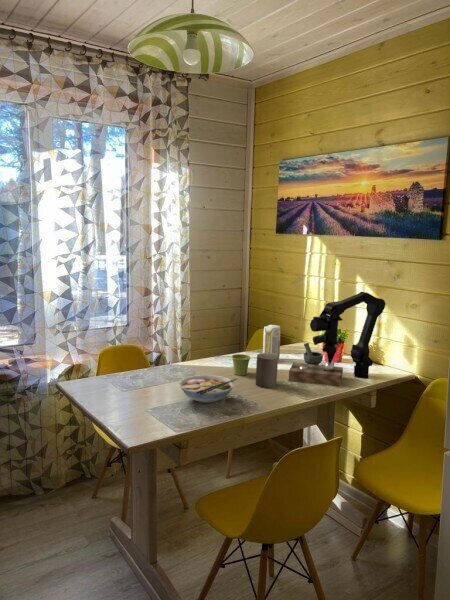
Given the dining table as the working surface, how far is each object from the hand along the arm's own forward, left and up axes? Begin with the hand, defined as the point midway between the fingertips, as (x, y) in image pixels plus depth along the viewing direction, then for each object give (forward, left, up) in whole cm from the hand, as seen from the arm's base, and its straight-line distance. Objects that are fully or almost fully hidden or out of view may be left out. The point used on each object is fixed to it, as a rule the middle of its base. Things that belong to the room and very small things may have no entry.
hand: (329, 362), depth 238 cm
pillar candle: (+27, +16, -9) cm, 33 cm away
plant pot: (+42, +4, -9) cm, 43 cm away
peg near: (0, 0, -5) cm, 5 cm away
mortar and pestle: (+10, -20, -9) cm, 24 cm away
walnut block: (+6, 0, -9) cm, 11 cm away
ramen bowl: (+47, +44, -9) cm, 65 cm away
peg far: (+12, 0, -8) cm, 15 cm away
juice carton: (+32, -24, -9) cm, 41 cm away
